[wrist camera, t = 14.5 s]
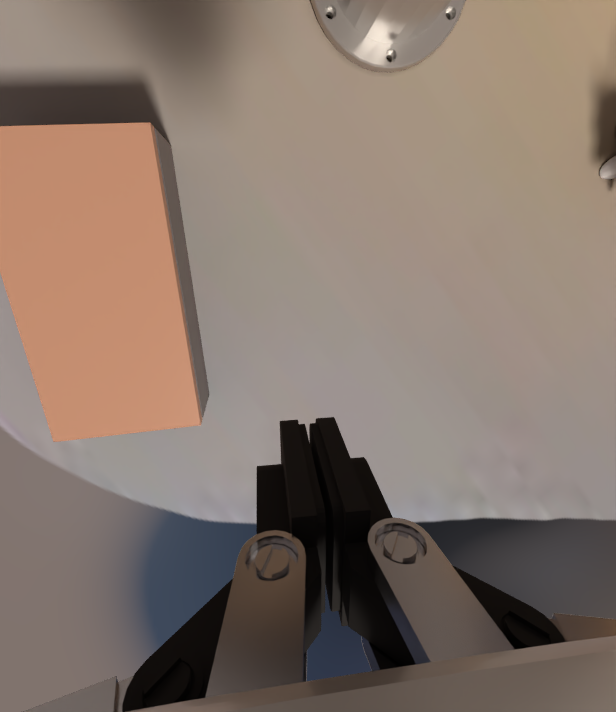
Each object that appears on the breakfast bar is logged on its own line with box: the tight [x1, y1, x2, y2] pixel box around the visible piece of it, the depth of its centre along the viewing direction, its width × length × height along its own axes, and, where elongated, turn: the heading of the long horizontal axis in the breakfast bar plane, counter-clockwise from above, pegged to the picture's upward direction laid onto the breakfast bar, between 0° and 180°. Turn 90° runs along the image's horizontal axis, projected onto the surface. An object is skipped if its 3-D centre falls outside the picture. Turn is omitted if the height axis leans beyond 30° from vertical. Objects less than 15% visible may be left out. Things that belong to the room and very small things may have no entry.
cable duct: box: [154, 128, 209, 417], centre depth 30 cm, size 22×11×5 cm, turn 3°
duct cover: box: [0, 122, 202, 442], centre depth 27 cm, size 22×12×1 cm, turn 3°
